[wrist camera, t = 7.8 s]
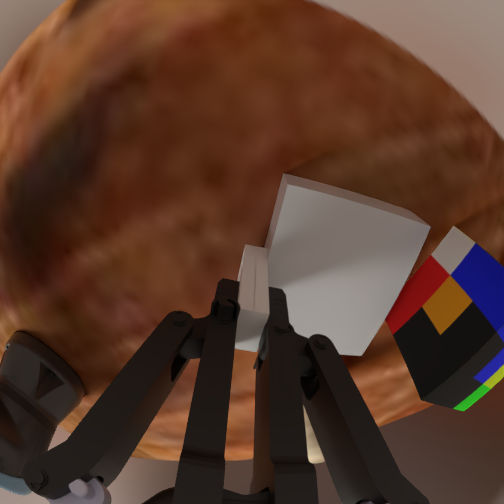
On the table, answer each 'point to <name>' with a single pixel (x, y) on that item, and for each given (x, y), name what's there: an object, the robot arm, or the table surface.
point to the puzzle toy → (452, 323)
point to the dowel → (312, 443)
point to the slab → (339, 259)
